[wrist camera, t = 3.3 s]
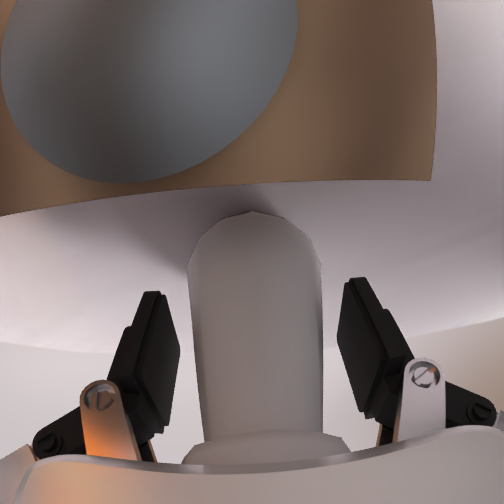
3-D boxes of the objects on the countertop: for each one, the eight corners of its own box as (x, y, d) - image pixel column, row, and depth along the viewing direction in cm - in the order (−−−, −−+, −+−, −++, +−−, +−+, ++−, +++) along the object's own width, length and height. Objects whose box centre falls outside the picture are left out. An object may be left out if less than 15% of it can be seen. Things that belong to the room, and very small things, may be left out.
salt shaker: (332, 241, 16) (444, 499, 4) (260, 312, 18) (282, 552, 7) (240, 170, 14) (251, 510, 3) (172, 259, 16) (104, 529, 5)
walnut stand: (365, -45, 8) (421, -89, 4) (374, 148, 13) (438, 185, 9) (5, 14, 8) (-66, 10, 4) (23, 184, 13) (-42, 229, 9)
